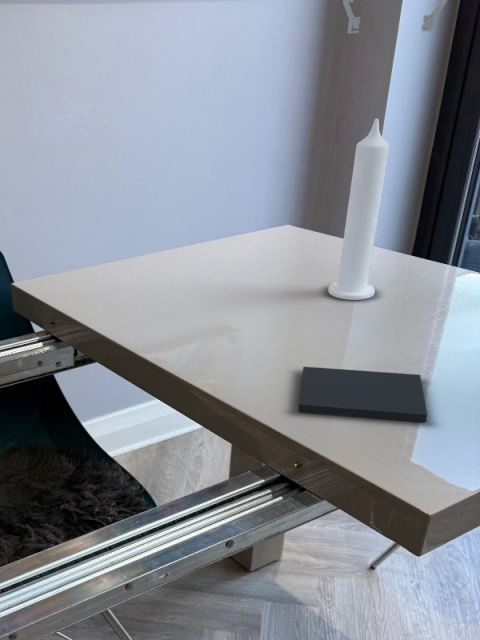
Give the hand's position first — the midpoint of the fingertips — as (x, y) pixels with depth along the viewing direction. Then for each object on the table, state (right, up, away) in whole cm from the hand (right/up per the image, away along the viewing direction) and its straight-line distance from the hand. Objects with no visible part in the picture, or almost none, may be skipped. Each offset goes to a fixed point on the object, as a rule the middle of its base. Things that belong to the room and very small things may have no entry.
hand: (389, 32), depth 105 cm
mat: (-8, -50, -11) cm, 52 cm away
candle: (+1, -29, +20) cm, 36 cm away
